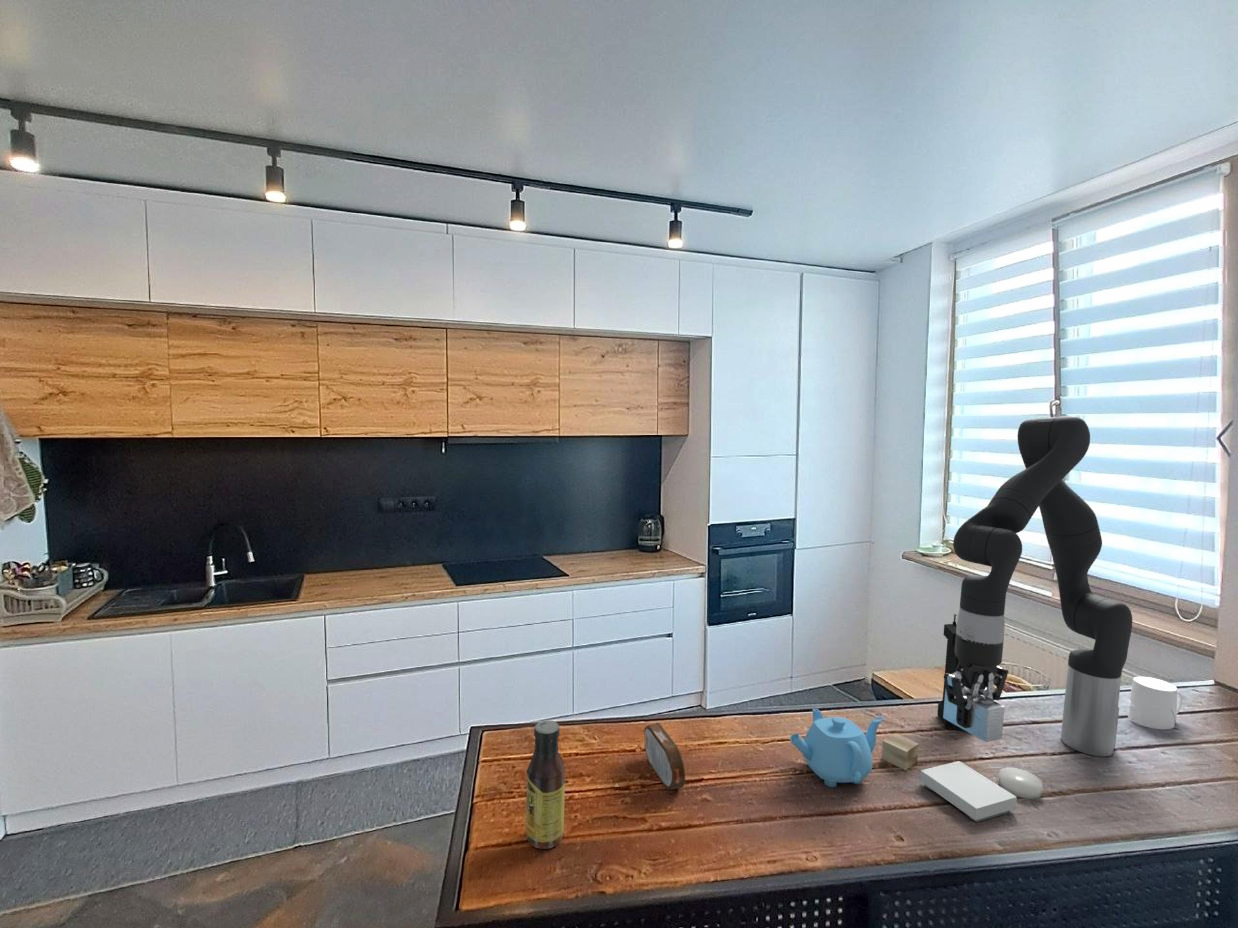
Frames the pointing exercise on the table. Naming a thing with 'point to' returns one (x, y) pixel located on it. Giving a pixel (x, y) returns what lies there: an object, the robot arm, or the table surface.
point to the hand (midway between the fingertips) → (972, 723)
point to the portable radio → (949, 668)
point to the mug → (1154, 703)
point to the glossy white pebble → (1020, 783)
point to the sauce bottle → (545, 789)
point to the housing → (979, 717)
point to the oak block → (900, 751)
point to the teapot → (838, 748)
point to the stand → (968, 790)
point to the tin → (664, 756)
